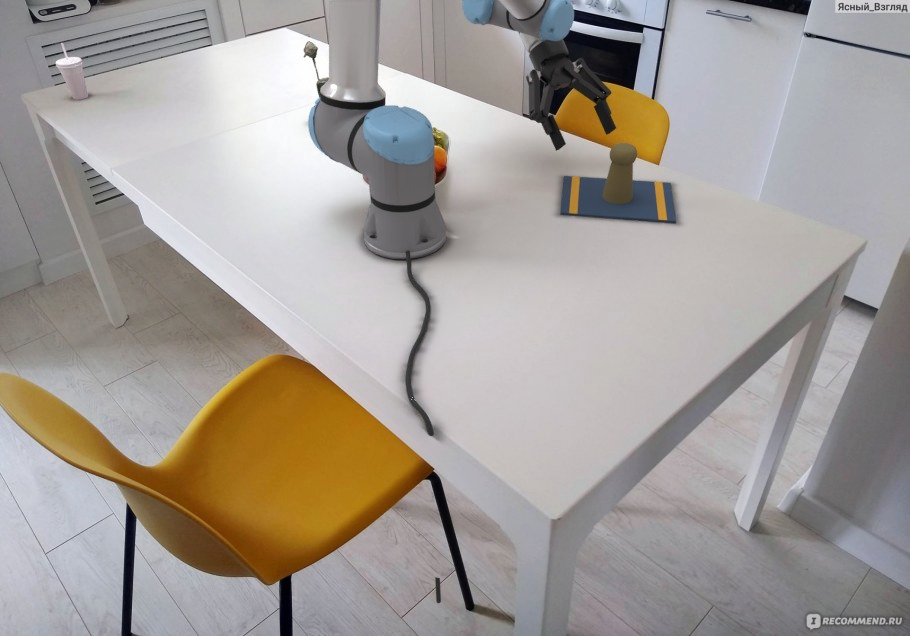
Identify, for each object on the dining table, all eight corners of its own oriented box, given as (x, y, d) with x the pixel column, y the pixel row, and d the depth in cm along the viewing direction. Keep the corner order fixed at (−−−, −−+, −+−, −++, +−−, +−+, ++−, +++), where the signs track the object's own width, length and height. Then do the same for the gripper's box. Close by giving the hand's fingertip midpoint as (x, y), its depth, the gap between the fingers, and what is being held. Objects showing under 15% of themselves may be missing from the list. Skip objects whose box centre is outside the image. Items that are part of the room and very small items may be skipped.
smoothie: (89, 90, 196) (71, 38, 187) (96, 97, 192) (79, 44, 184) (64, 96, 193) (45, 43, 184) (72, 103, 189) (53, 49, 180)
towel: (675, 223, 136) (676, 220, 136) (560, 214, 139) (560, 212, 139) (670, 184, 149) (670, 182, 148) (564, 177, 152) (564, 175, 151)
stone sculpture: (334, 134, 171) (324, 49, 158) (304, 123, 177) (292, 39, 164) (359, 124, 176) (351, 41, 163) (329, 113, 181) (319, 31, 169)
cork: (632, 205, 141) (640, 153, 134) (601, 202, 142) (608, 151, 135) (632, 191, 146) (640, 140, 139) (602, 188, 147) (609, 138, 140)
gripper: (580, 44, 155) (620, 133, 154) (487, 66, 144) (529, 162, 143) (600, 24, 148) (642, 117, 147) (503, 46, 137) (548, 146, 136)
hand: (586, 139), depth 145 cm, fingers open, 13 cm apart
